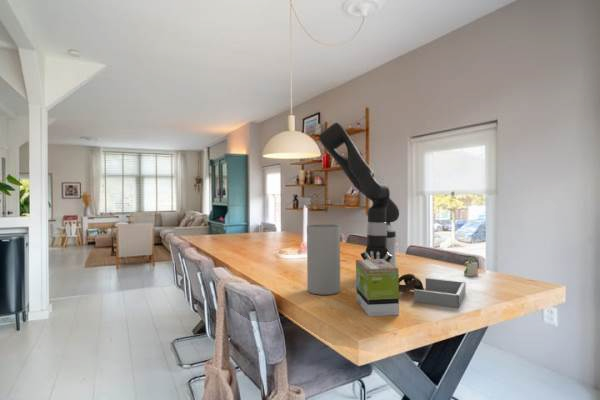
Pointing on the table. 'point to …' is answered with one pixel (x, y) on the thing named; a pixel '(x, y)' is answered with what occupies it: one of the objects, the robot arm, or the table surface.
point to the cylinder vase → (323, 259)
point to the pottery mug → (410, 283)
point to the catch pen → (439, 297)
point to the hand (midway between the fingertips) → (376, 278)
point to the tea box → (377, 287)
